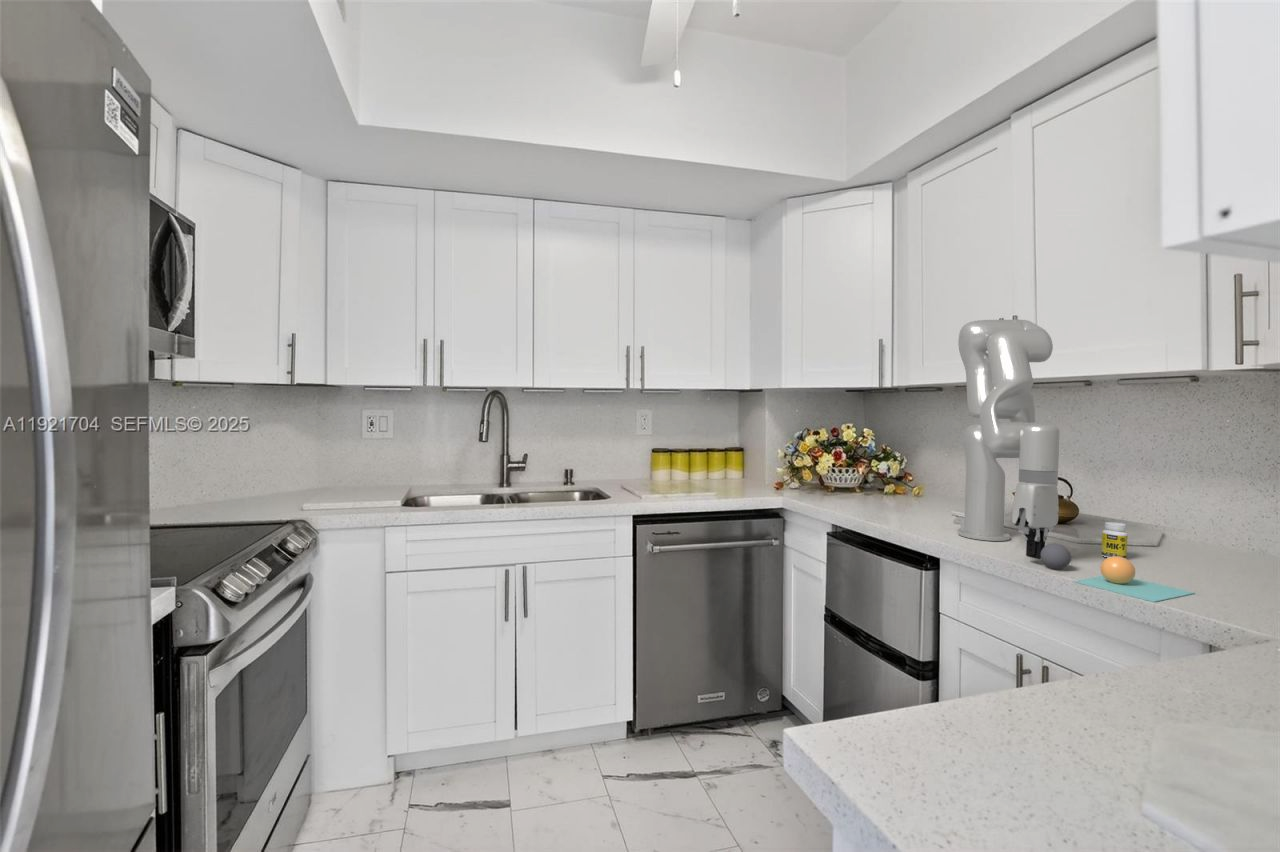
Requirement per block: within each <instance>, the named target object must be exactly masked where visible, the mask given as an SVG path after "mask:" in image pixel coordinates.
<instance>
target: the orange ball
mask: <svg viewBox="0 0 1280 852" xmlns="http://www.w3.org/2000/svg"><path fill="white" fill-rule="evenodd" d="M1100 572H1101V576H1104V578H1105V579H1107V580H1108V581H1110V582H1112V583H1115V584H1126V583H1129V582H1130V581H1132V580H1133V578H1134V579H1135V577H1136V568H1135V566H1134V564H1133V563H1132V562H1131V561H1130V560H1129V559H1127V558H1126V559H1125V558H1123V557H1119V556H1112V557H1109V558H1105V559H1104V560H1103V561H1102V562H1101V564H1100Z"/></svg>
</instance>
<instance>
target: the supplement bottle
mask: <svg viewBox="0 0 1280 852" xmlns="http://www.w3.org/2000/svg"><path fill="white" fill-rule="evenodd" d="M1126 530H1127V525H1126V524H1125V523H1122V522H1114V521H1105V522H1104V529H1103V530H1102V532H1101V535H1102V536H1101V554H1100V555H1101V557H1102V556H1104V557H1108V558H1109V557H1112V556H1119V557H1123V558H1125V559H1127V555H1128V551H1127V550H1128V537H1129V536H1128V532H1126ZM1104 557H1103V558H1104Z"/></svg>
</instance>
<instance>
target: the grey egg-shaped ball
mask: <svg viewBox="0 0 1280 852" xmlns="http://www.w3.org/2000/svg"><path fill="white" fill-rule="evenodd" d="M1040 560H1041V561H1042V562H1043V564H1044V565H1045V566H1047V567H1049V568H1050V569H1053V570H1062V569H1064V568H1067V567H1069V564H1071V561H1072V556H1071V552H1070V551H1069V549H1068V548H1066V547H1065V546H1064V545H1063V544H1060V543H1048V544H1045V547H1044V548H1043V549H1042V551H1041V559H1040Z"/></svg>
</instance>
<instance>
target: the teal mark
mask: <svg viewBox="0 0 1280 852" xmlns="http://www.w3.org/2000/svg"><path fill="white" fill-rule="evenodd" d="M1073 582H1074V583H1077V584H1082V585H1086V586H1089V587H1092V588H1097V589H1101V590H1105V591H1107V592H1112V593H1117V594H1119V595H1124V596H1128V597H1132V598H1136V599H1140V600H1144V601H1148V602H1152V603H1158V602H1163V601H1168V600H1173V599H1177V598H1182V597H1187V596H1192V595H1196V592H1195V591H1194V592H1193V591H1190V590H1187V589H1182V588H1181V589H1180V588H1178V587H1177V588H1176V587H1172V586H1169V585H1164V584H1159V583H1154V582H1150V581H1148V580H1147V581H1146V580H1143V579H1138V578H1135V577H1134V578H1133V580H1132V581H1130V582H1129V583H1126V584H1115V583H1112V582H1110V581H1108V580H1107V579H1105V578H1104V576H1103V575H1099V576H1095V577H1088V578H1083V579H1077V580H1073ZM1186 595H1187V596H1186ZM1181 596H1182V597H1181Z"/></svg>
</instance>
